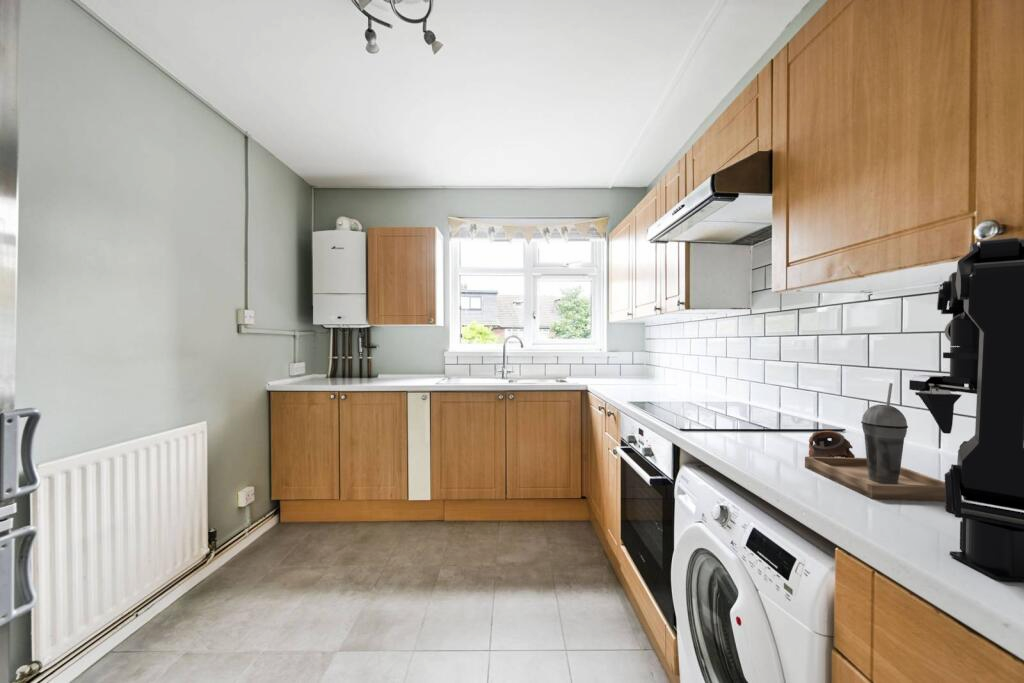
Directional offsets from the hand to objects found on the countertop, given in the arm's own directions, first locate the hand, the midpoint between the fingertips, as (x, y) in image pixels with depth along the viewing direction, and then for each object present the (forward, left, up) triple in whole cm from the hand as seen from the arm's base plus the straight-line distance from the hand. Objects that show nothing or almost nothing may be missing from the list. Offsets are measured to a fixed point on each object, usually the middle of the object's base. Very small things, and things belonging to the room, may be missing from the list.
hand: (972, 439), depth 73 cm
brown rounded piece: (+35, +1, -13) cm, 37 cm away
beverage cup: (+15, +3, -12) cm, 19 cm away
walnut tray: (+17, +3, -13) cm, 22 cm away
